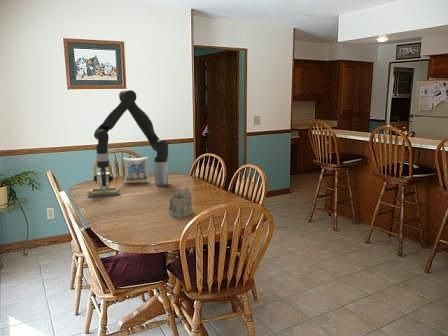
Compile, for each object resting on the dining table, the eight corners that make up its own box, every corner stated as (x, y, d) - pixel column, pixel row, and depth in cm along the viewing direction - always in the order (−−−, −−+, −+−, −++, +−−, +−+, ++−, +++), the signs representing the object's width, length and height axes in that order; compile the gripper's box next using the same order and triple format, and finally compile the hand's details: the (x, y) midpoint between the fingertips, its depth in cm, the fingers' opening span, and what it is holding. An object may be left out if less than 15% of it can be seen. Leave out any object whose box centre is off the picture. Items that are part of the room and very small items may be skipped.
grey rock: (177, 206, 224) (176, 182, 220) (198, 212, 214) (198, 187, 210) (158, 214, 212) (156, 188, 208) (179, 221, 202) (178, 194, 199)
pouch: (124, 182, 289) (122, 156, 286) (149, 180, 293) (148, 155, 289) (123, 184, 282) (122, 157, 278) (149, 183, 285) (148, 156, 282)
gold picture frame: (119, 190, 263) (119, 186, 262) (120, 195, 250) (120, 190, 249) (89, 192, 257) (89, 188, 257) (88, 197, 244) (88, 193, 244)
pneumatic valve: (112, 190, 251) (111, 172, 248) (94, 190, 250) (93, 172, 248) (114, 188, 256) (113, 170, 254) (96, 188, 255) (95, 171, 253)
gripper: (108, 161, 244) (110, 187, 247) (108, 158, 257) (110, 182, 260) (96, 162, 242) (98, 188, 245) (96, 158, 255) (98, 183, 258)
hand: (104, 185), depth 252 cm, fingers closed on pneumatic valve, 5 cm apart
